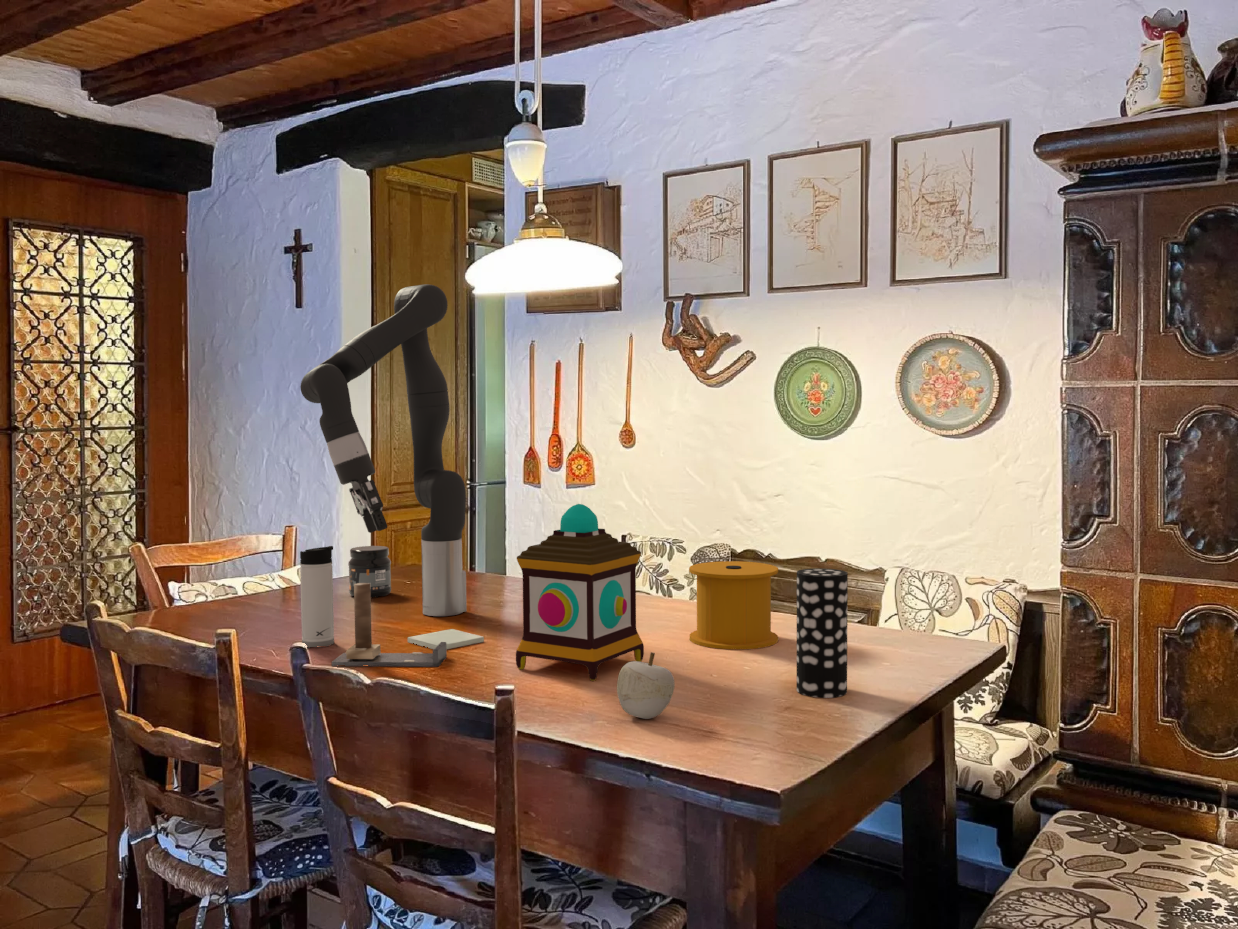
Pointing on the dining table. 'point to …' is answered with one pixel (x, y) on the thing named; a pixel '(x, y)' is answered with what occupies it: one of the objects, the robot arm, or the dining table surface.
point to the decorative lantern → (579, 595)
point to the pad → (446, 639)
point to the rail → (399, 659)
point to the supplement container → (370, 569)
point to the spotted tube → (822, 632)
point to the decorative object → (644, 688)
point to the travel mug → (317, 596)
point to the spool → (733, 605)
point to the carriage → (363, 625)
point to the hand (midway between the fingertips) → (378, 530)
